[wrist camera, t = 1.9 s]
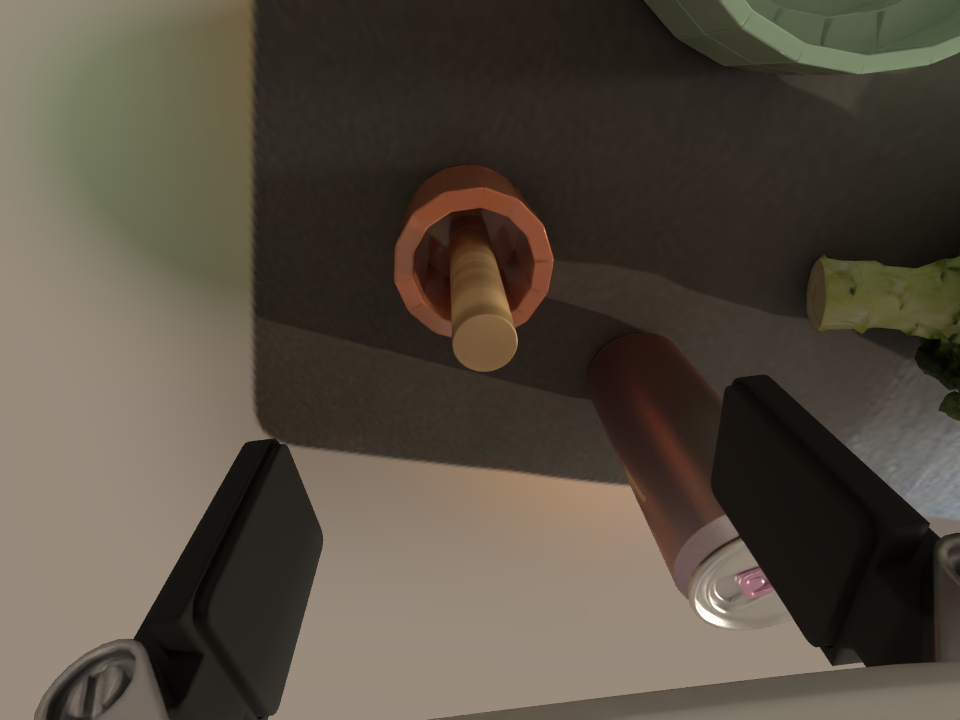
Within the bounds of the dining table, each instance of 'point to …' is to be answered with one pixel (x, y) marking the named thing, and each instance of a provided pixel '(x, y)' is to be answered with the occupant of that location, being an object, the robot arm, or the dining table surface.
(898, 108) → the dining table surface
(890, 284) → the vegetable
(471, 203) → the holder
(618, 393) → the beverage can
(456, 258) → the stick
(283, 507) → the robot arm
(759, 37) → the bowl
